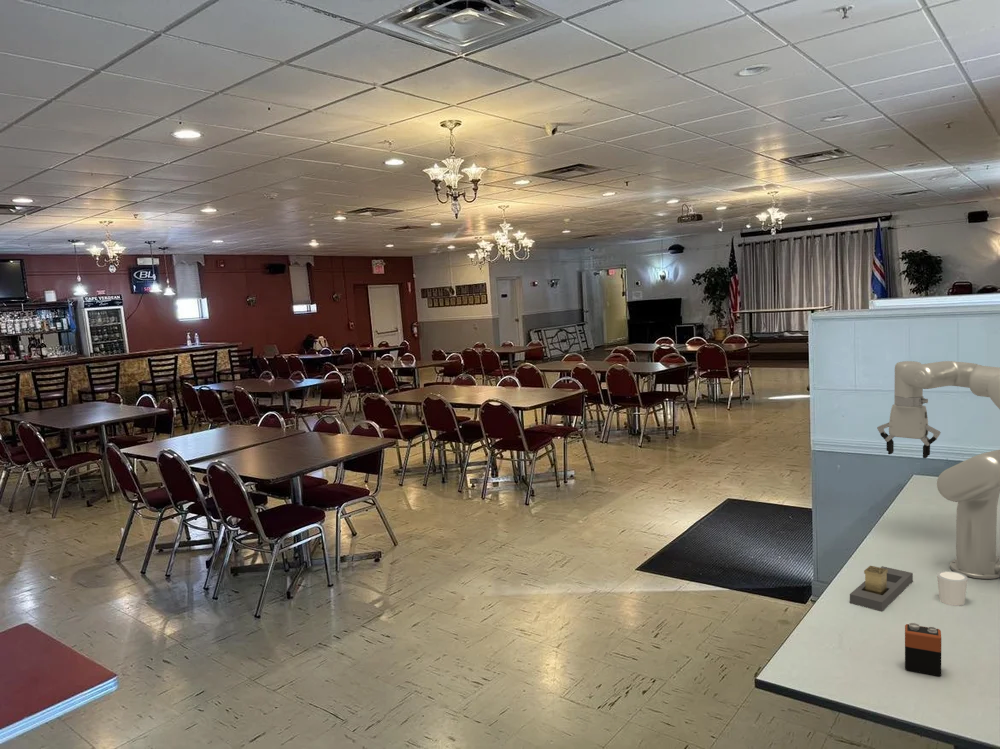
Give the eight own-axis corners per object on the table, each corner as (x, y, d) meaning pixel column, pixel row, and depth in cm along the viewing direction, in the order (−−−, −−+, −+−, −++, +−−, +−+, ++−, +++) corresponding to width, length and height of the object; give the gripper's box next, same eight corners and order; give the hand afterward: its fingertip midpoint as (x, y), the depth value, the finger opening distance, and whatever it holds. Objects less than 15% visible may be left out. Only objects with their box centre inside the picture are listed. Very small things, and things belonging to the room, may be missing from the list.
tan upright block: (887, 597, 189) (887, 569, 188) (881, 603, 186) (881, 574, 185) (870, 593, 192) (870, 565, 191) (864, 598, 189) (864, 570, 188)
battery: (905, 661, 158) (905, 619, 157) (940, 667, 154) (940, 624, 153) (904, 670, 154) (904, 627, 153) (941, 677, 151) (941, 633, 149)
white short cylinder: (963, 596, 186) (963, 571, 186) (971, 607, 180) (971, 581, 179) (933, 594, 189) (933, 569, 188) (940, 605, 182) (940, 580, 182)
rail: (912, 581, 197) (912, 572, 197) (882, 611, 181) (882, 602, 181) (882, 574, 203) (882, 566, 203) (849, 602, 187) (849, 594, 187)
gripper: (943, 401, 212) (942, 456, 214) (881, 397, 224) (881, 449, 226) (937, 405, 207) (936, 461, 209) (874, 401, 219) (873, 454, 221)
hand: (907, 455), depth 218 cm, fingers open, 9 cm apart
